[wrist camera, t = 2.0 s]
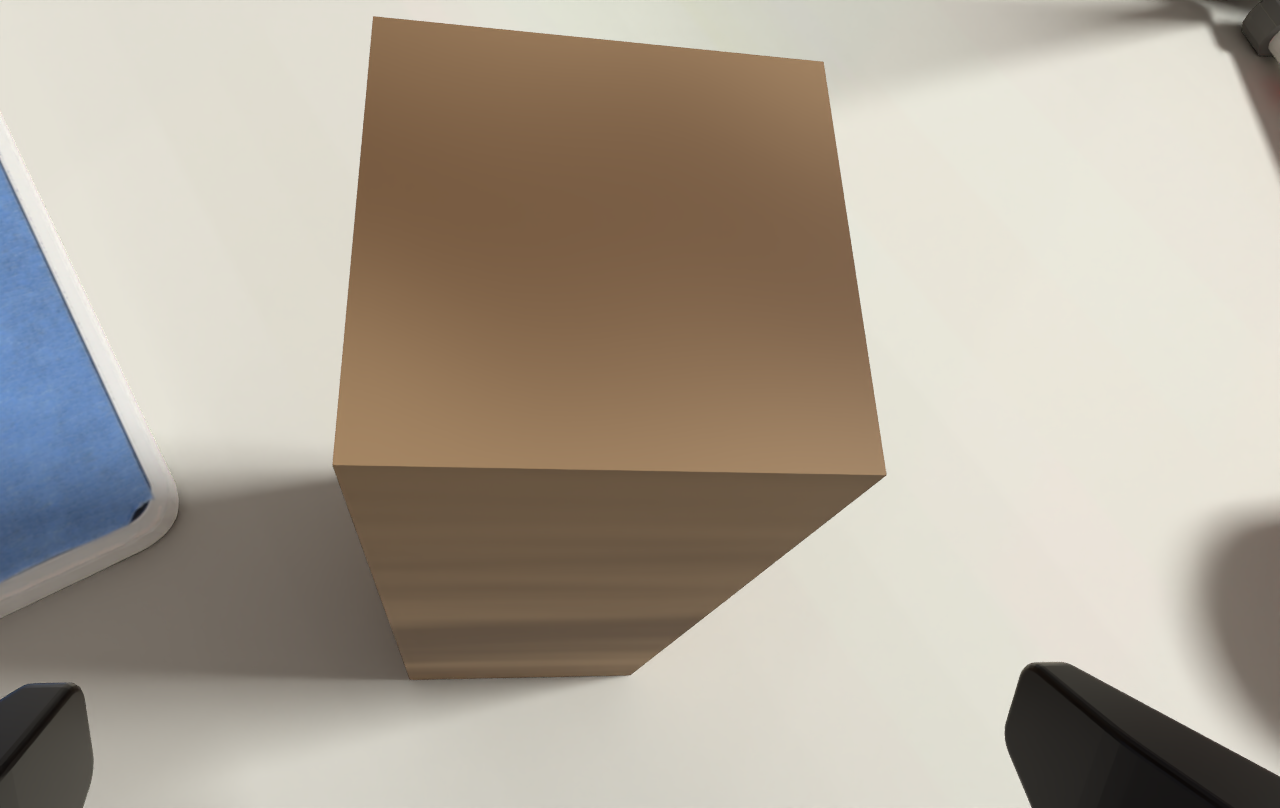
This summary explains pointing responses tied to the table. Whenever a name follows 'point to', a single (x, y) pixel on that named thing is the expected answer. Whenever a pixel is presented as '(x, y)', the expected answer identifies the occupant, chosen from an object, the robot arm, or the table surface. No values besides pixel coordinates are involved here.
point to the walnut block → (591, 342)
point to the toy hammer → (1264, 28)
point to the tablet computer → (63, 416)
